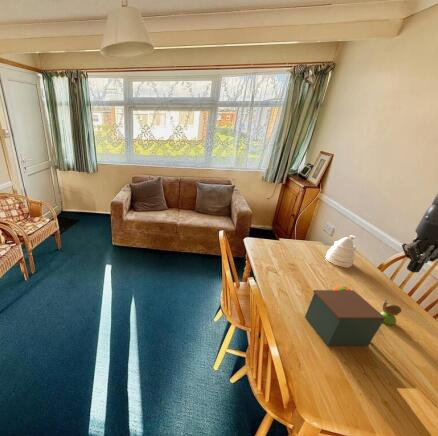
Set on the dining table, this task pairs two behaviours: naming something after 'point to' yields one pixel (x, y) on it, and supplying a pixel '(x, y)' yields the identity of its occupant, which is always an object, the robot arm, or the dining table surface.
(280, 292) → the dining table surface
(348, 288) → the clementine
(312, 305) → the box
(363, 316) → the lid
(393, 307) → the snail figurine
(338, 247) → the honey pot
